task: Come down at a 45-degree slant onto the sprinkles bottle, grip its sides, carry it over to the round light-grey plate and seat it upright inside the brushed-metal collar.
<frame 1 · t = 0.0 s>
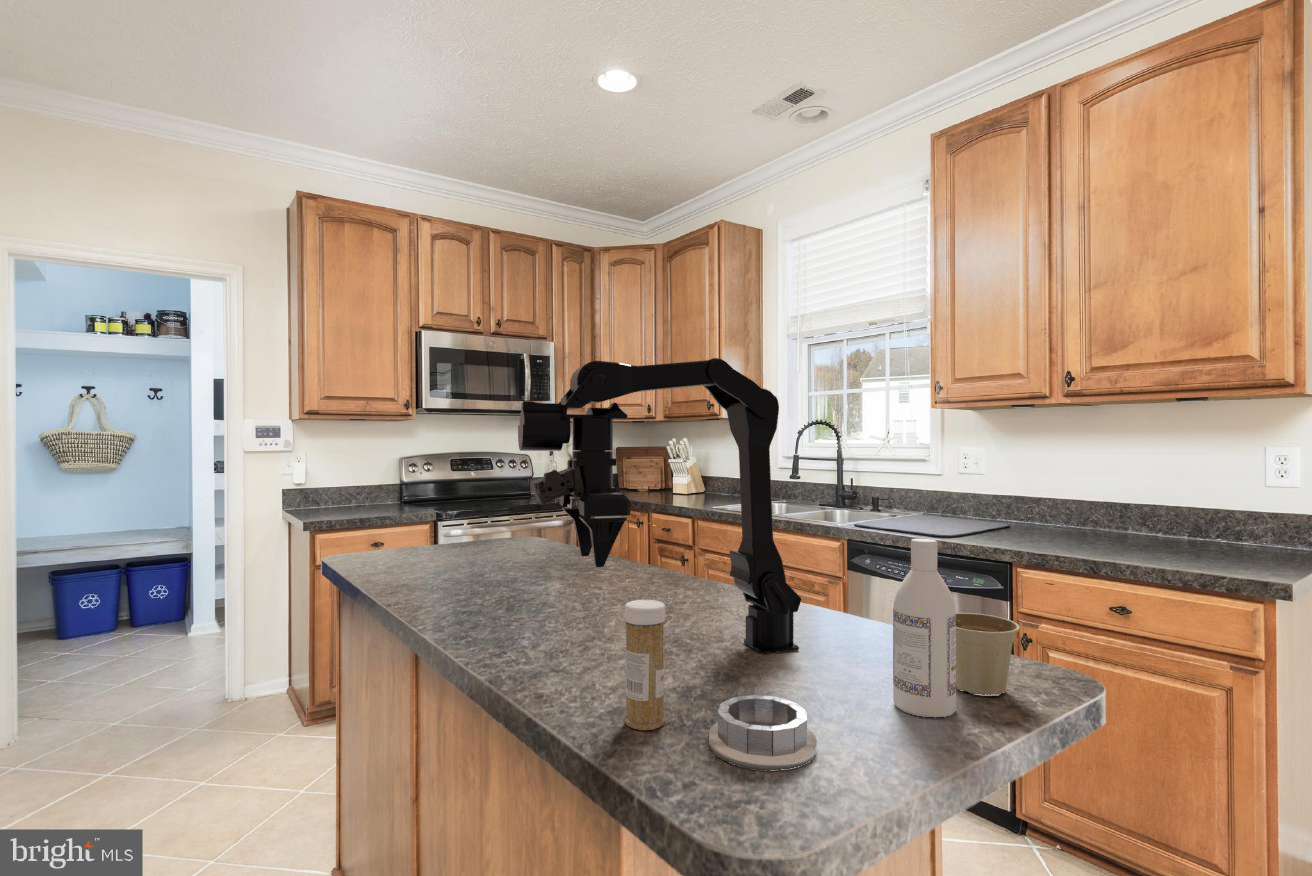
hand: (591, 561, 94), 15 cm above the countertop, tool pointing down, fingers open, 9 cm apart
bath foam: (924, 709, 79), on the countertop
socket: (762, 745, 69), on the countertop
flower pot: (978, 690, 85), on the countertop
sprinkles bottle: (644, 725, 74), on the countertop
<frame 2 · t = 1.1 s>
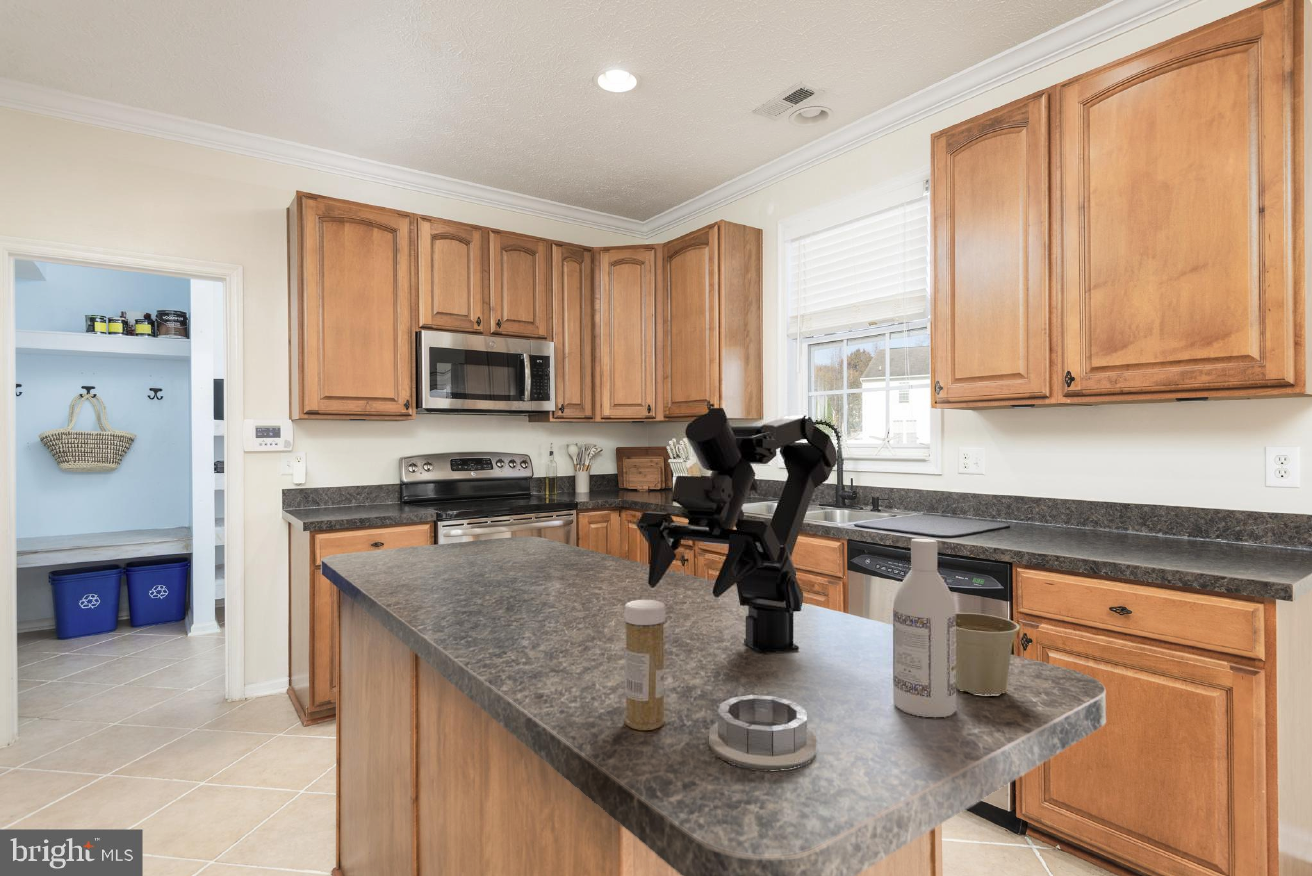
hand: (681, 590, 81), 13 cm above the countertop, tool tilted 45°, fingers open, 9 cm apart
nothing on the countertop moved.
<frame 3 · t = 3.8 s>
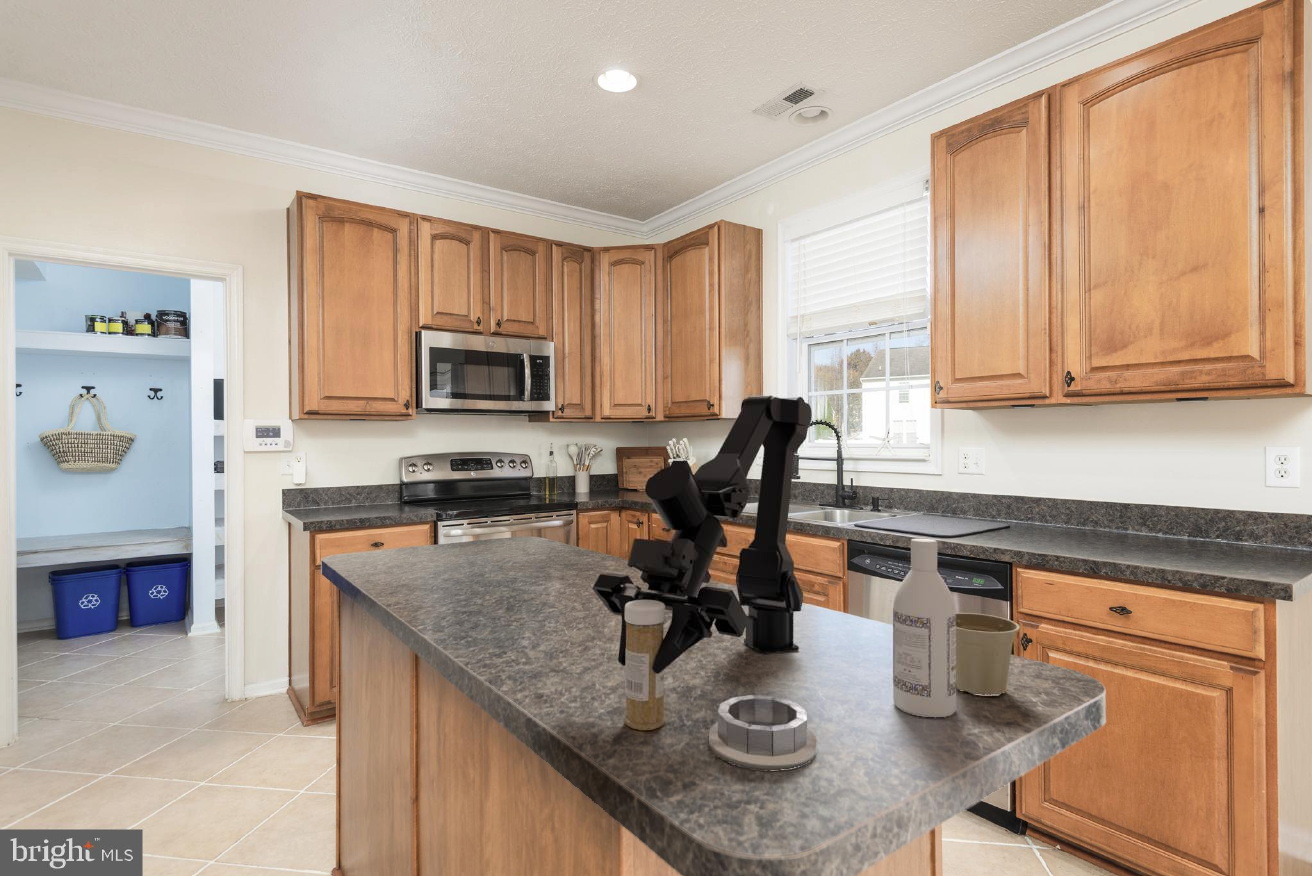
hand: (637, 667, 73), 7 cm above the countertop, tool tilted 45°, fingers closed on sprinkles bottle, 4 cm apart
sprinkles bottle: (644, 725, 74), on the countertop, touching gripper
everything else where it was.
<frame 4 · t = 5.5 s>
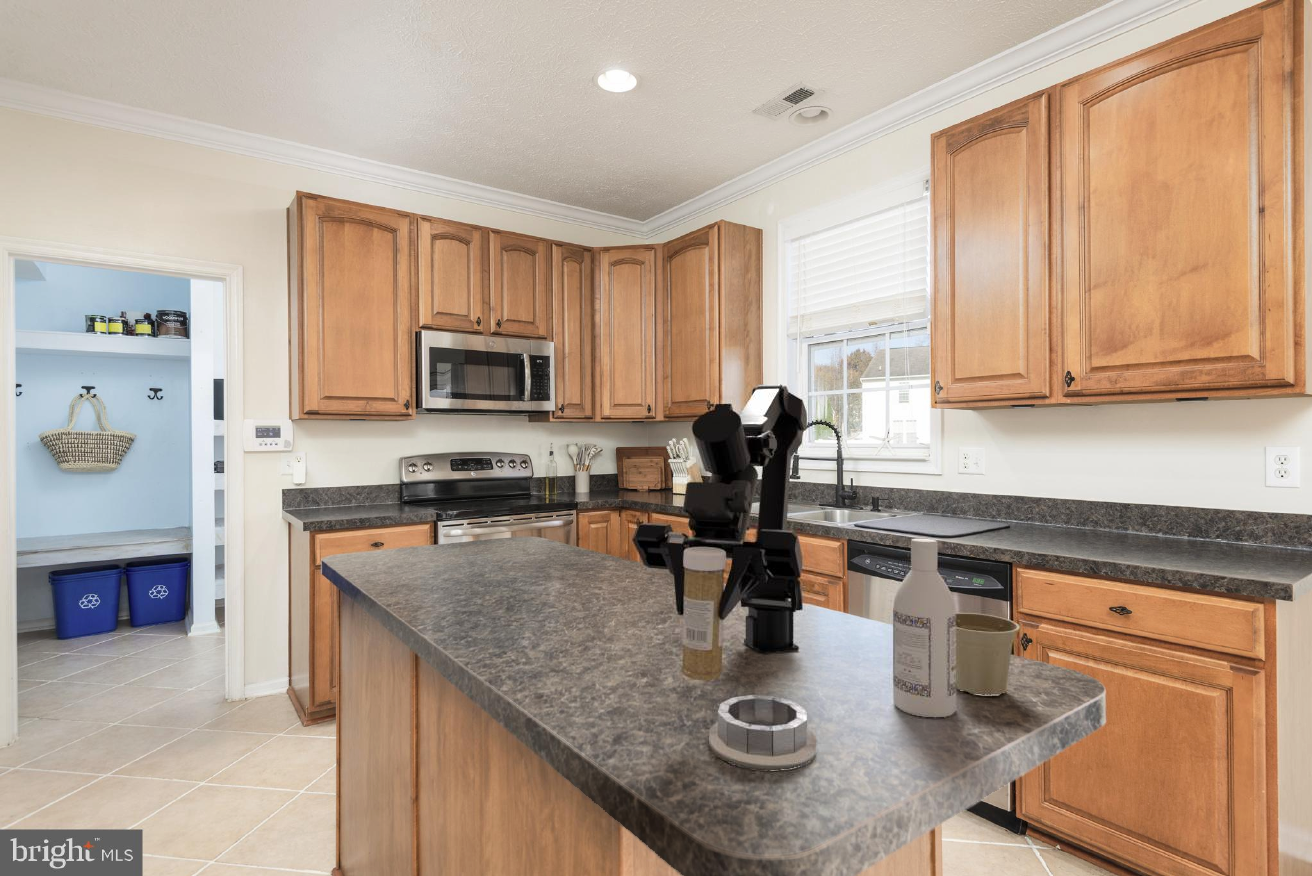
hand: (699, 615, 70), 13 cm above the countertop, tool tilted 45°, fingers closed on sprinkles bottle, 4 cm apart
sprinkles bottle: (701, 676, 71), point 6 cm above the countertop, touching gripper
everything else where it was.
when the fingers open (9 cm above the countertop, at t = 7.2 s): sprinkles bottle drops 1 cm, resting on socket.
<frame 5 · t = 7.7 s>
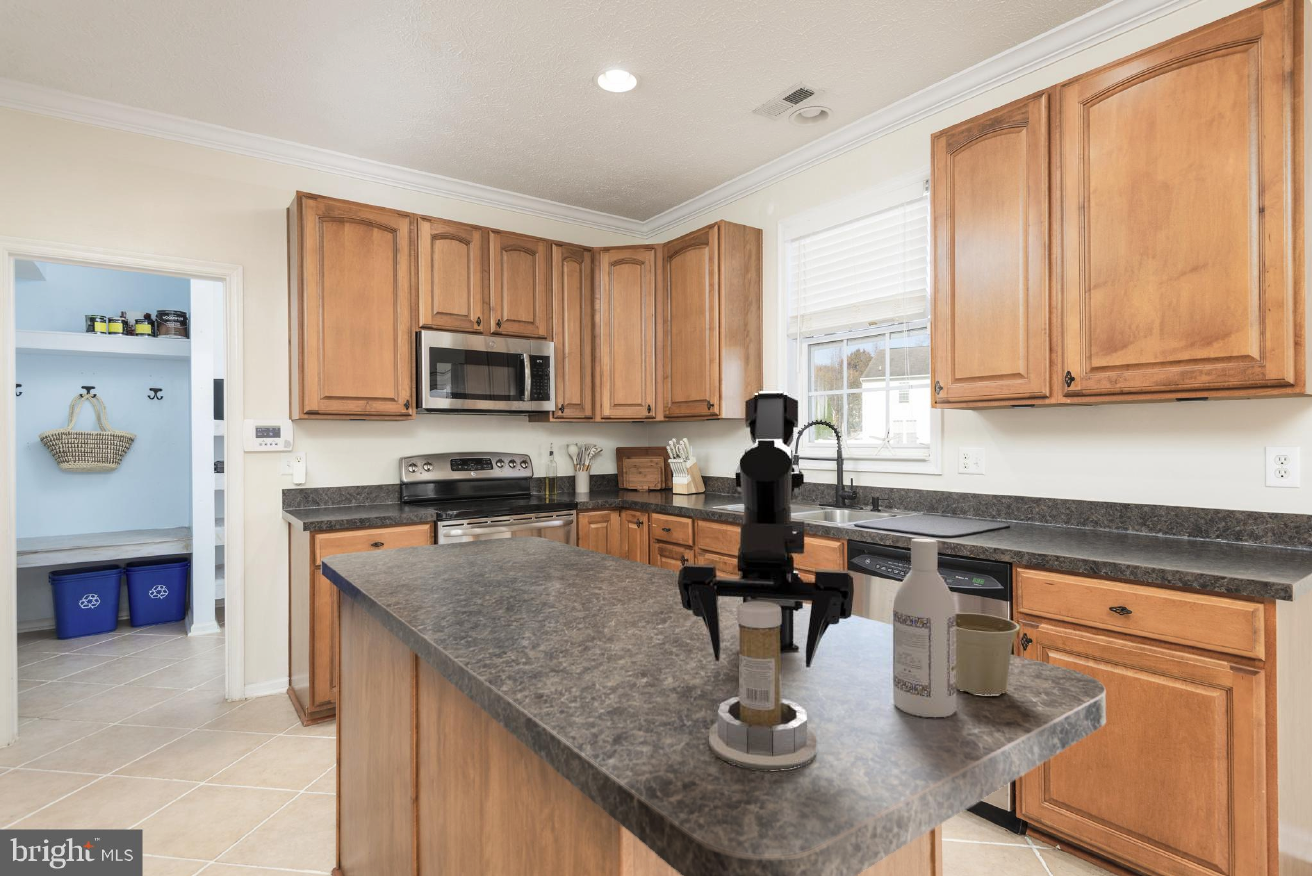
hand: (761, 662, 68), 9 cm above the countertop, tool tilted 45°, fingers open, 9 cm apart
sprinkles bottle: (760, 736, 69), point 1 cm above the countertop, touching socket
everything else where it was.
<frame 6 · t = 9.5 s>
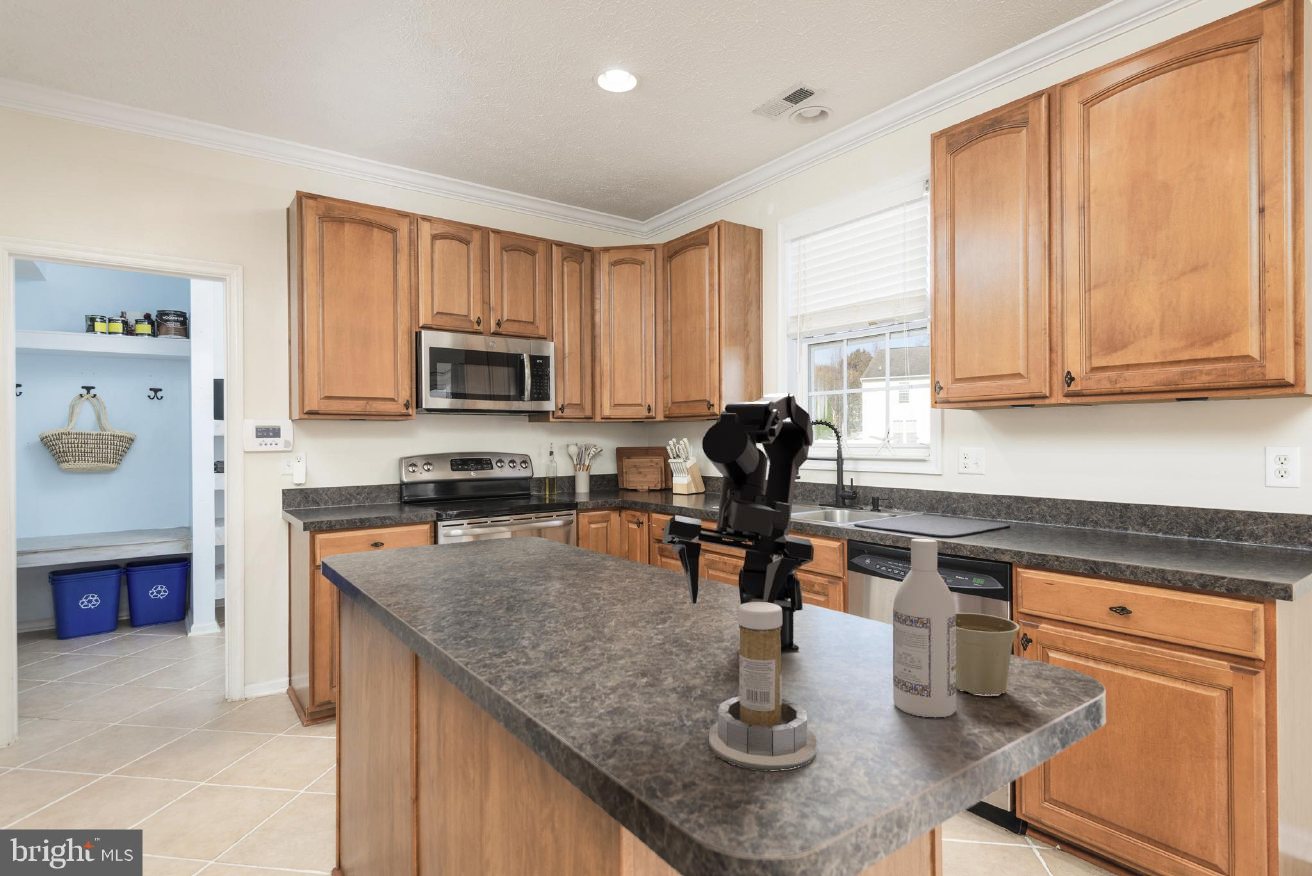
hand: (729, 609, 83), 11 cm above the countertop, tool tilted 20°, fingers open, 9 cm apart
nothing on the countertop moved.
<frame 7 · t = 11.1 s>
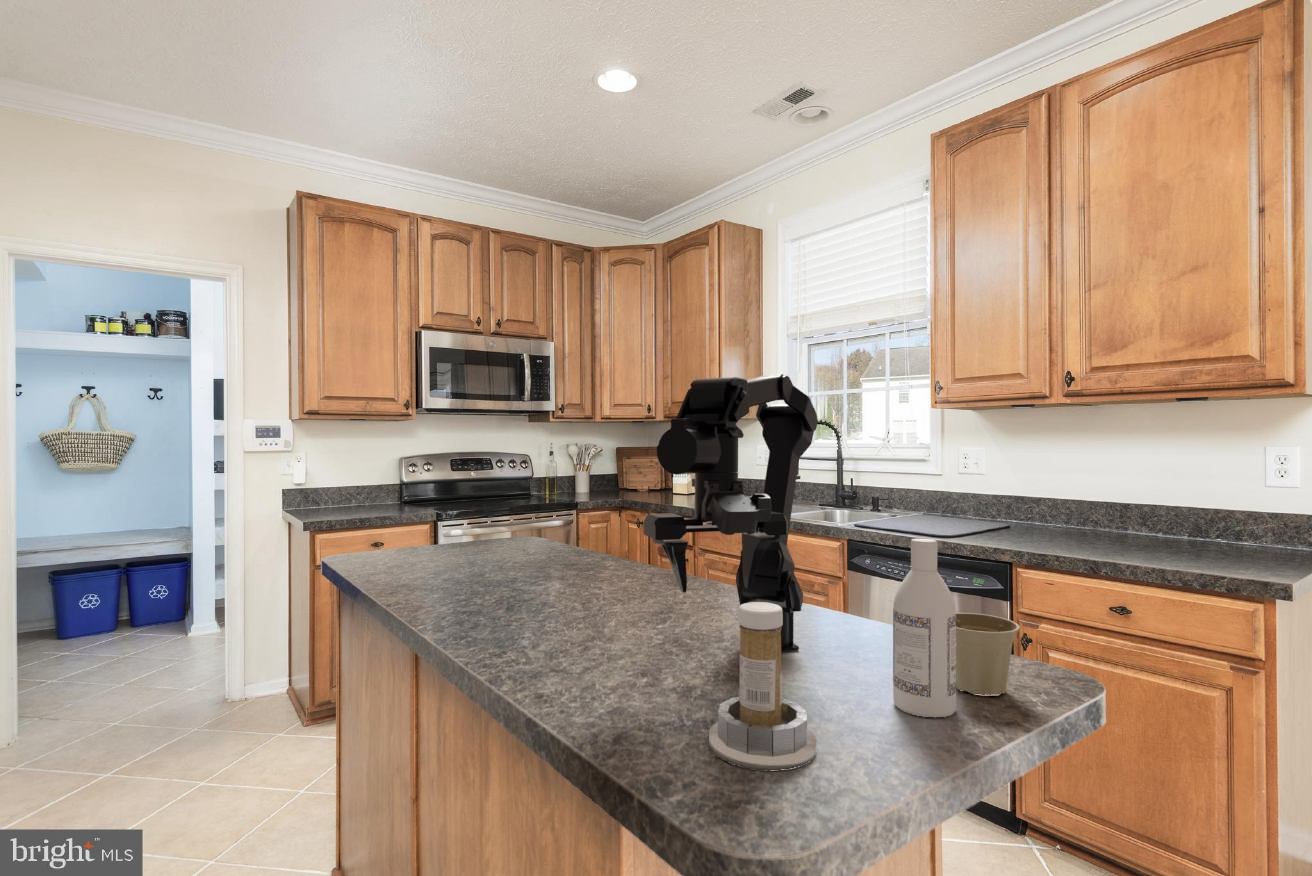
hand: (715, 589, 88), 12 cm above the countertop, tool pointing down, fingers open, 9 cm apart
nothing on the countertop moved.
at the end: sprinkles bottle 0.3 cm off-centre on the socket, point 0.8 cm above the socket's base; sprinkles bottle tilted 0°; the gripper is holding nothing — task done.
